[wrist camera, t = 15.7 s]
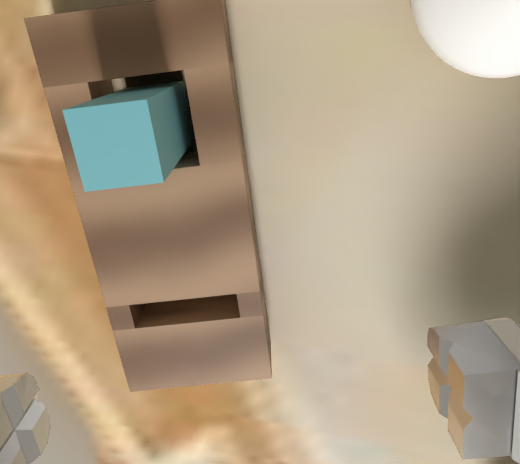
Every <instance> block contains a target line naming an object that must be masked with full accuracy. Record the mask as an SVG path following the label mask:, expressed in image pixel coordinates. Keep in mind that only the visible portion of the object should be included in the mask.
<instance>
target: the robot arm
mask: <svg viewBox="0 0 520 464" xmlns="http://www.w3.org/2000/svg"><path fill="white" fill-rule="evenodd" d="M428 348H429V350H430V351H431V353H432V355H433V359H432V360H431V361H430V363H429V364H428V380H429V385H430V390H431V394H432V397H433V400H434V403H435V405H436V407H437V410H438V412H439V413H440V414H441V415H443V416H444V417H446V418H448V432H449V434H450V436H451V438H452V440H453V442H454V444H455V445H456V447H457V449H458V451H459V453H460V455H461V457H462V459H474V458H488V457H502V456H512V459H513V460H515V461H516V462H517V463H519V464H520V327H519V326H518V325H517V324H516V323H515V322H514V321H513V320H512V319H510V318H507V317H503V318H496V319H490V320H483V321H479V322H471V323H464V324H456V325H449V326H441V327H433V328H429V331H428ZM38 392H39V387H38V385H37V382H36V380H35V378H34V376H32V375H30V374H28V373H22V374H11V375H0V464H30V463H31V462H33V461H34V460H35V459H37V458H38V457H39V456H40V455H41V454H42V453H43V451H44V449H45V447H46V445H47V443H48V439H49V434H50V417H49V414H48V411H47V409H46V406H44V405H43V404H42V403H40V402H39V401H38V400H36V397H37V394H38Z"/></svg>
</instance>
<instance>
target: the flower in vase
mask: <svg viewBox="0 0 520 464" xmlns="http://www.w3.org/2000/svg"><path fill="white" fill-rule="evenodd" d="M410 4H411V10H412V13H413V16H414V19H415V22H416V25H417V27H418V29H419V31H420V33H421V35H422V37H423V38H424V40H425V41H426V43H427V44H428V46H429V47H430V48H431V49H432V50H433V51H434V52H435V54H436V55H437V56H439V57H440V58H441V59H442V60H443V61H445V62H446V63H447V64H449V65H450V66H452V67H454V68H456V69H457V70H460V71H462V72H465V73H467V74H470V75H474V76H479V77H486V78H507V77H512V76H518V75H520V0H410Z"/></svg>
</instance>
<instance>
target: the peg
mask: <svg viewBox="0 0 520 464" xmlns="http://www.w3.org/2000/svg"><path fill="white" fill-rule="evenodd" d="M62 111H63V115H64V118H65V122H66V125H67V129H68V133H69V136H70V140H71V144H72V147H73V151H74V155H75V158H76V162H77V165H78V169H79V173H80V176H81V180H82V184H83V187H84V191H85V192H88V191H96V190H105V189H114V188H122V187H131V186H139V185H148V184H156V183H164V182H165V180H166V179H167V177H168V176H169V174H170V173H171V172H172V170H173V169H174V167H175V166H176V164H177V163H178V161H179V160H180V158H181V157H182V156H183V154H184V153H185V151H186V150H187V148H188V147H189V145H190V144H191V142H192V141H193V140H194V137H193V131H192V125H191V120H190V114H189V108H188V102H187V97H186V91H185V85H184V81H178V82H170V83H162V84H154V85H147V86H139V87H131V88H125V89H122V90H119V91H116V92H113V93H110V94H108V95H105V96H102V97H99V98H96V99H93V100H90V101H87V102H84V103H81V104H78V105H75V106H72V107H70V108H67V109H64V110H62Z"/></svg>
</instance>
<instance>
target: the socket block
mask: <svg viewBox="0 0 520 464" xmlns="http://www.w3.org/2000/svg"><path fill="white" fill-rule="evenodd" d="M24 21H25V24H26V28H27V31H28V35H29V38H30V42H31V45H32V49H33V52H34V56H35V59H36V63H37V66H38V70H39V73H40V77H41V81H42V84H43V88H44V91H45V95H46V98H47V102H48V105H49V109H50V112H51V116H52V119H53V123H54V126H55V130H56V133H57V137H58V140H59V144H60V147H61V151H62V154H63V158H64V161H65V165H66V168H67V172H68V175H69V179H70V182H71V186H72V189H73V193H74V196H75V200H76V203H77V207H78V210H79V214H80V217H81V221H82V224H83V228H84V231H85V235H86V238H87V242H88V245H89V249H90V253H91V256H92V260H93V263H94V267H95V270H96V274H97V277H98V281H99V284H100V288H101V291H102V295H103V298H104V302H105V305H106V309H107V312H108V316H109V319H110V323H111V326H112V330H113V333H114V337H115V340H116V344H117V347H118V351H119V354H120V358H121V361H122V365H123V368H124V372H125V375H126V379H127V382H128V386H129V389H130V392H133V391H143V390H154V389H164V388H175V387H185V386H196V385H206V384H217V383H227V382H238V381H248V380H258V379H269V378H272V370H271V342H270V335H269V327H268V320H267V313H266V305H265V298H264V290H263V283H262V275H261V268H260V260H259V253H258V245H257V238H256V230H255V223H254V215H253V208H252V200H251V193H250V185H249V178H248V170H247V163H246V155H245V148H244V140H243V133H242V125H241V118H240V110H239V103H238V96H237V88H236V81H235V73H234V66H233V58H232V51H231V43H230V36H229V28H228V21H227V13H226V6H225V0H155V1H148V2H140V3H133V4H126V5H118V6H111V7H104V8H96V9H89V10H81V11H74V12H67V13H59V14H52V15H45V16H37V17H30V18H24ZM178 70H184V75H185V81H186V87H187V92H188V98H189V104H190V110H191V116H192V121H193V127H194V133H195V139H196V145H197V150H198V152H192V153H184V154H183V156H182V157H181V158H180V160H179V161H178V163H177V164H176V166H175V167H174V169H173V170H172V172H171V173H170V174H169V176H168V177H167V179H166V180H165V182H164V183H156V184H148V185H139V186H131V187H122V188H114V189H105V190H96V191H88V192H85V191H84V187H83V184H82V180H81V176H80V173H79V169H78V165H77V162H76V158H75V155H74V151H73V147H72V144H71V140H70V136H69V133H68V129H67V125H66V122H65V118H64V115H63V111H62V110H64V109H67V108H70V107H72V106H75V105H78V104H81V103H84V102H87V101H90V100H93V99H96V98H99V97H102V96H105V95H108V94H110V93H113V88H112V83H111V79H116V78H124V77H132V76H139V75H147V74H155V73H163V72H171V71H178Z"/></svg>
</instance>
